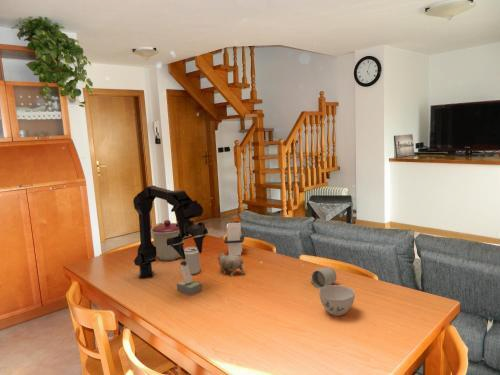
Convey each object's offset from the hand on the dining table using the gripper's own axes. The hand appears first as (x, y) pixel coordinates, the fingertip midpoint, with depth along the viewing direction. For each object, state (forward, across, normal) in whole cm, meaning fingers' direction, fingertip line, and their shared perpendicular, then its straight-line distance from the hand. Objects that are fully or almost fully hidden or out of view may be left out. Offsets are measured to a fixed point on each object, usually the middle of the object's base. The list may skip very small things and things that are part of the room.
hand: (192, 256), depth 163 cm
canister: (+4, +24, +48) cm, 54 cm away
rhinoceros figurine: (+15, +24, +6) cm, 29 cm away
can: (+11, +15, +21) cm, 28 cm away
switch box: (+14, -1, +6) cm, 16 cm away
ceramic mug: (+26, +33, -37) cm, 56 cm away
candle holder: (+11, +48, +22) cm, 54 cm away
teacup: (+30, +15, -53) cm, 63 cm away
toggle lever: (+11, -1, +5) cm, 12 cm away
